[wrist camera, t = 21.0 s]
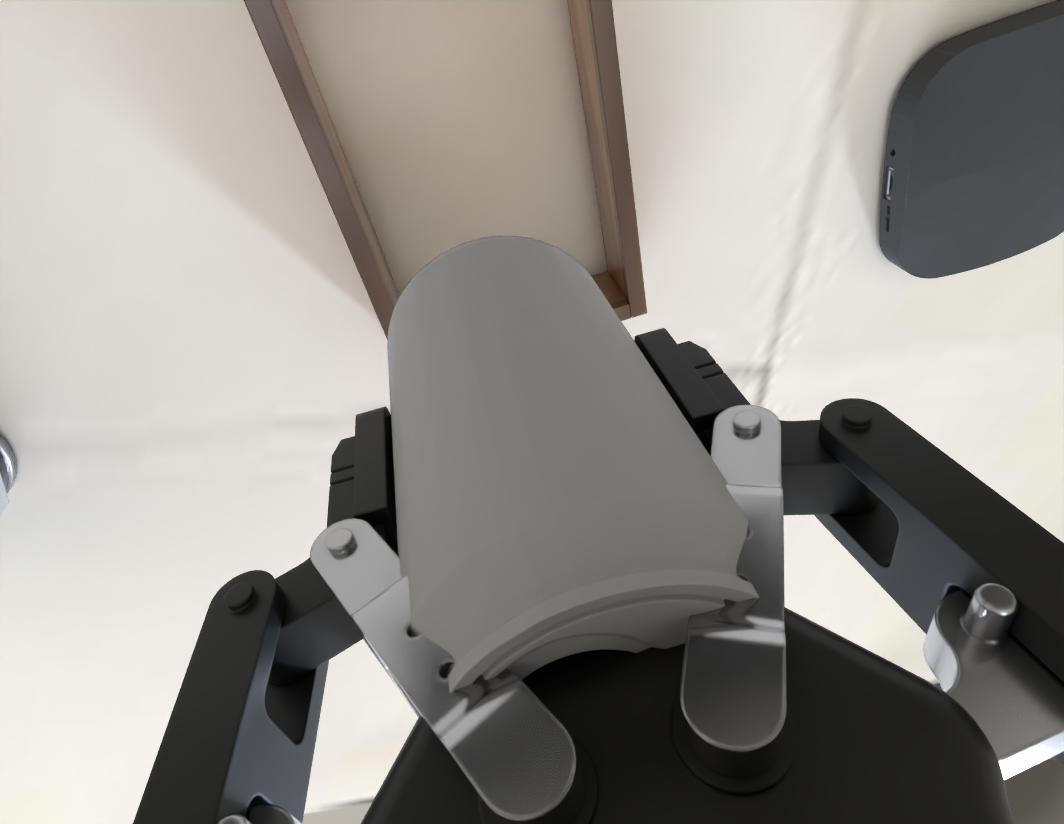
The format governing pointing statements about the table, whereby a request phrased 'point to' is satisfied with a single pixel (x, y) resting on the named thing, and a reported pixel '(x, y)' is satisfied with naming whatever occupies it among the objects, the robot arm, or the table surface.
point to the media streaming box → (978, 148)
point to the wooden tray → (604, 135)
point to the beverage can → (544, 470)
